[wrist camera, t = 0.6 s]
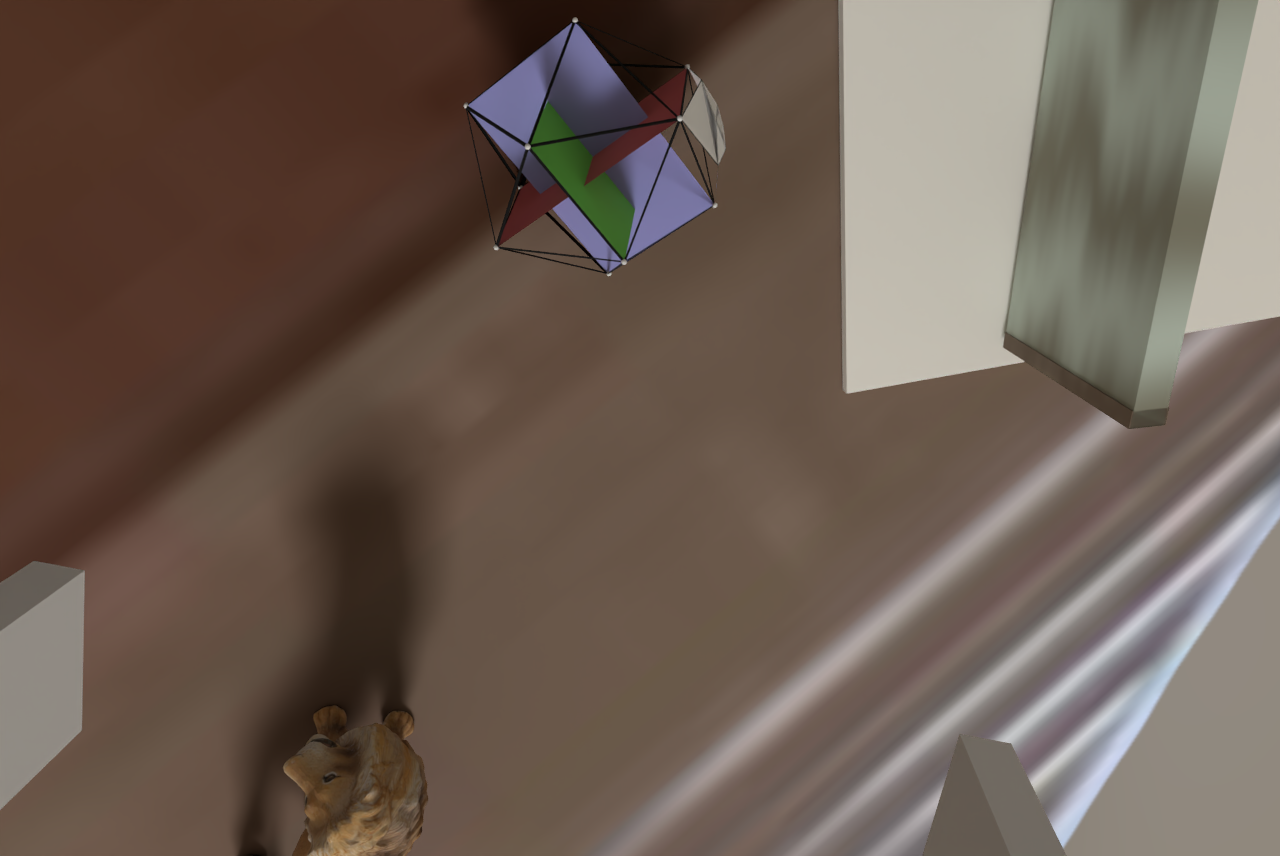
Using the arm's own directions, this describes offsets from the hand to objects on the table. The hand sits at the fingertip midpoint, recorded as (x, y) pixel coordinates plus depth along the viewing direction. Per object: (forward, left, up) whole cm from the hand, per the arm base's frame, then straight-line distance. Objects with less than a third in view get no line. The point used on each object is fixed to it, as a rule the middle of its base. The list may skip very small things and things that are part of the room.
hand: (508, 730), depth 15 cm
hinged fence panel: (-2, +21, -21) cm, 30 cm away
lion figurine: (+19, -8, -22) cm, 30 cm away
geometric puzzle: (-5, +5, -22) cm, 23 cm away
